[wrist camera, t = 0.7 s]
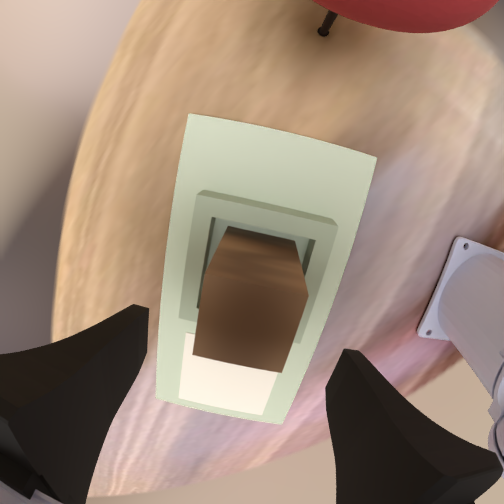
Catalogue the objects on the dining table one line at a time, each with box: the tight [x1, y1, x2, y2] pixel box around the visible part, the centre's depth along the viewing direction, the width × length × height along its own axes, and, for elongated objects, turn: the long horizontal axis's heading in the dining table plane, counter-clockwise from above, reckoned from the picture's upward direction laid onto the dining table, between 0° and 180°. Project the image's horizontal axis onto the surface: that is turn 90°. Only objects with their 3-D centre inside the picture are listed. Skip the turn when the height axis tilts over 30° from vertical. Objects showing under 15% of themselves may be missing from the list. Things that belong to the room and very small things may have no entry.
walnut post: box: [192, 226, 309, 373], centre depth 16 cm, size 4×4×7 cm
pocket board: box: [156, 113, 377, 424], centre depth 19 cm, size 11×22×2 cm, turn 168°
